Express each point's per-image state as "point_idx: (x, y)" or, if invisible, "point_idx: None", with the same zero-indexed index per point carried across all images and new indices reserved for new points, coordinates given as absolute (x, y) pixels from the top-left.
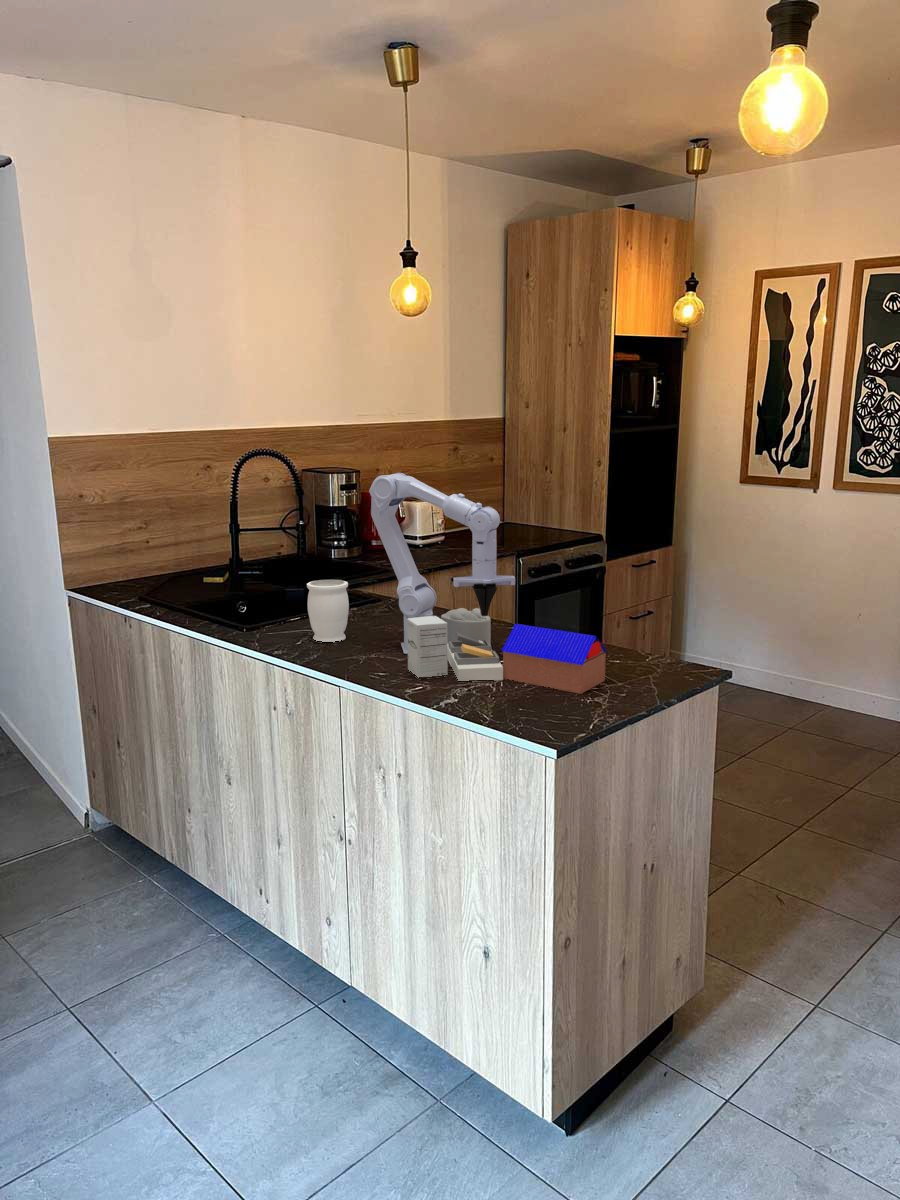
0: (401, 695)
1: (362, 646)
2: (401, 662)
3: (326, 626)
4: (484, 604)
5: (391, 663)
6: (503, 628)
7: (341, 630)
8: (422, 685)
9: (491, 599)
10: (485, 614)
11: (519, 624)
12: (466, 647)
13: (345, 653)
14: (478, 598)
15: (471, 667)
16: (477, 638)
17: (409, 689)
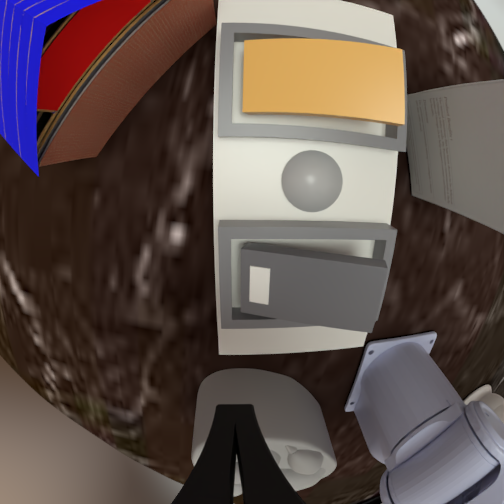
0: (481, 17)
1: (460, 377)
2: (462, 267)
3: (500, 399)
4: (243, 465)
5: (479, 262)
6: (164, 463)
7: None
8: (455, 51)
9: (183, 494)
10: (231, 410)
11: (32, 14)
12: (389, 63)
13: (497, 335)
14: (304, 502)
15: (347, 11)
16: (241, 393)
17: (474, 41)
